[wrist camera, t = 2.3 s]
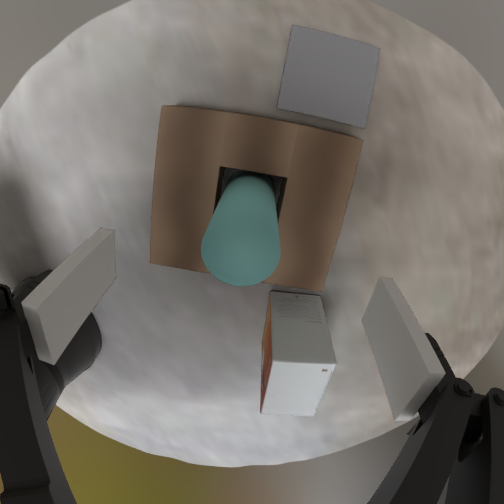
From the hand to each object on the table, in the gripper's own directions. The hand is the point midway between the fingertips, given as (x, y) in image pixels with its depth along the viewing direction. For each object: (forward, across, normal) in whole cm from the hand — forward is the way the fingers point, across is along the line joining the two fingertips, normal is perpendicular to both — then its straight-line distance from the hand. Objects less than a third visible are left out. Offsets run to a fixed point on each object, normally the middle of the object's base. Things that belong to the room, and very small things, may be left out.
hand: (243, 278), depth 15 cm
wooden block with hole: (+16, 0, 0) cm, 16 cm away
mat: (+16, +4, +12) cm, 20 cm away
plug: (+16, 0, 0) cm, 16 cm away
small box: (+16, +6, -14) cm, 22 cm away
